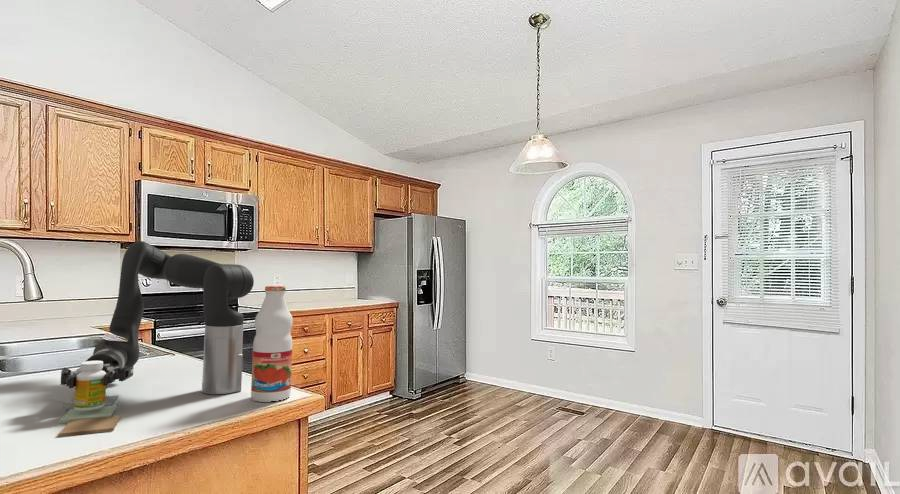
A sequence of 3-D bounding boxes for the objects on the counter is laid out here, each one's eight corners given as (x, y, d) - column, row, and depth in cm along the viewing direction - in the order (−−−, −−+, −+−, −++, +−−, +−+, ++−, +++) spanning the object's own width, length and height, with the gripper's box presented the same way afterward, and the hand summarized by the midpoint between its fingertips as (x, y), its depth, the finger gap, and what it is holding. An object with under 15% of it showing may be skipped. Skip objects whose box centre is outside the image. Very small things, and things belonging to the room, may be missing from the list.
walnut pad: (120, 418, 102) (120, 415, 102) (113, 431, 94) (113, 427, 94) (70, 423, 98) (70, 420, 98) (58, 436, 90) (58, 433, 90)
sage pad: (116, 407, 109) (116, 405, 109) (109, 418, 102) (109, 415, 102) (70, 411, 106) (70, 409, 106) (59, 423, 98) (59, 420, 98)
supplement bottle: (88, 412, 101) (90, 365, 101) (67, 409, 102) (69, 363, 102) (111, 405, 106) (113, 360, 106) (91, 402, 107) (93, 359, 107)
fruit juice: (288, 391, 127) (293, 285, 128) (292, 401, 118) (296, 287, 120) (250, 394, 123) (255, 285, 124) (250, 404, 114) (256, 286, 116)
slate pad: (118, 397, 117) (118, 395, 117) (112, 407, 110) (112, 404, 110) (75, 401, 114) (75, 398, 114) (65, 411, 106) (66, 408, 106)
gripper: (68, 352, 114) (46, 366, 99) (140, 349, 120) (129, 362, 105) (66, 384, 114) (44, 403, 98) (138, 379, 120) (128, 396, 105)
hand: (88, 381), depth 102 cm, fingers closed on supplement bottle, 5 cm apart
